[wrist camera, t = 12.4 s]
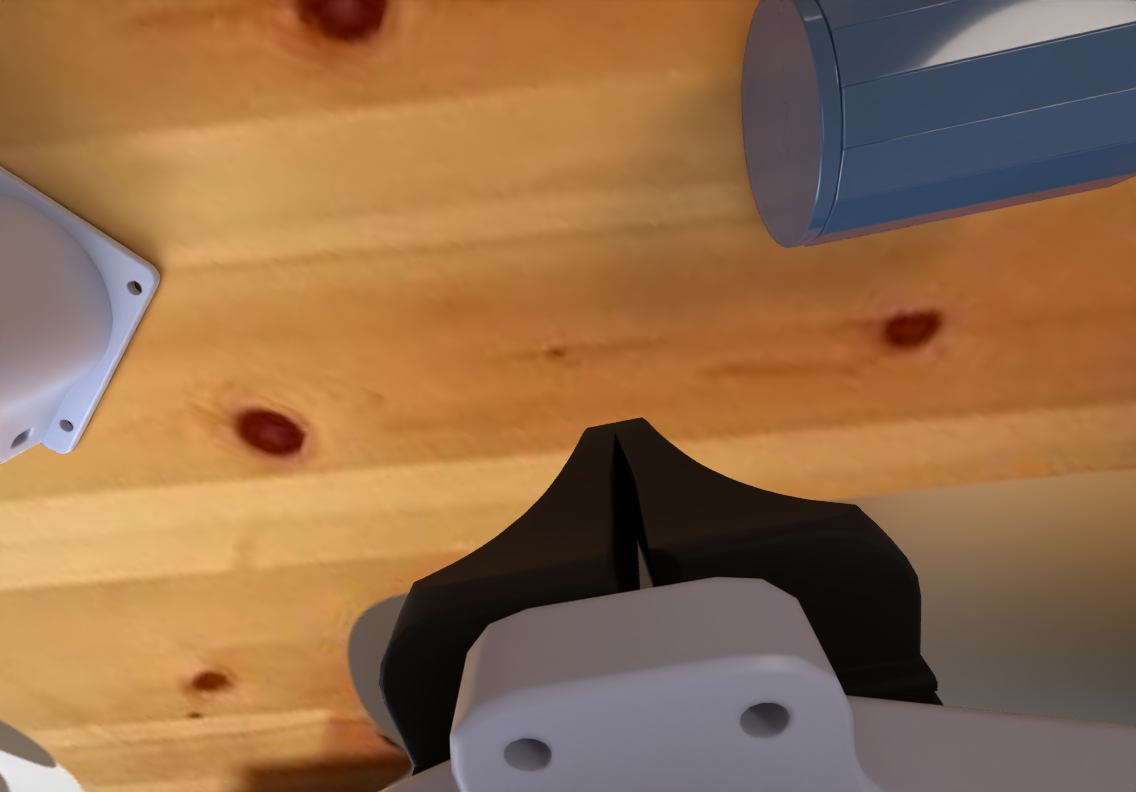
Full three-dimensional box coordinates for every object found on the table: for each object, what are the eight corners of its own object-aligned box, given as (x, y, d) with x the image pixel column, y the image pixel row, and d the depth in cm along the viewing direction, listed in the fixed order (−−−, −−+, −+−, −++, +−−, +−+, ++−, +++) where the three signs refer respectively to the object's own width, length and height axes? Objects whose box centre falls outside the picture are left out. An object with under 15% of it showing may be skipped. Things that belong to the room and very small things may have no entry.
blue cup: (784, 291, 18) (1085, 233, 18) (847, 120, 12) (1311, 20, 12) (732, 134, 21) (992, 78, 20) (761, -72, 15) (1136, -163, 14)
